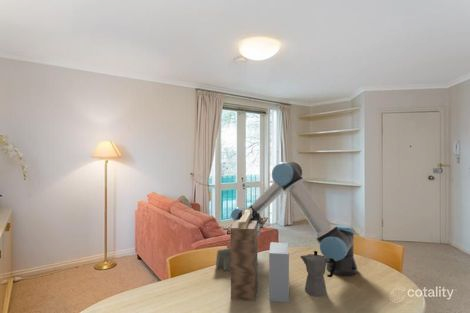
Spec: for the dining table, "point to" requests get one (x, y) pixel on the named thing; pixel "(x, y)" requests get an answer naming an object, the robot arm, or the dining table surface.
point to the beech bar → (244, 220)
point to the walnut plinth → (244, 261)
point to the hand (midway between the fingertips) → (246, 210)
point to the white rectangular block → (279, 272)
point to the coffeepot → (317, 273)
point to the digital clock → (224, 258)
